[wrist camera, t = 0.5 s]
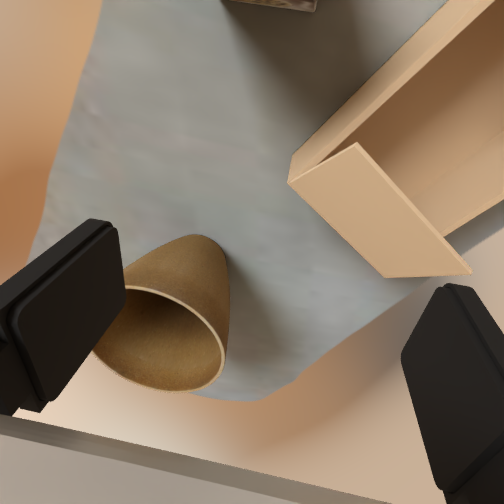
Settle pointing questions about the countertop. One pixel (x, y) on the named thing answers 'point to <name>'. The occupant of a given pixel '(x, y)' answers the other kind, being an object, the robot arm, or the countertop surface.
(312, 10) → the coffee box
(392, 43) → the countertop surface
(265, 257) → the countertop surface
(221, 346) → the plant pot
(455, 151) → the carton
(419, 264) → the flap
